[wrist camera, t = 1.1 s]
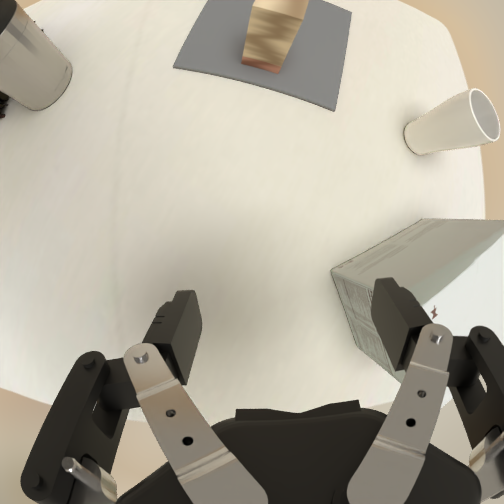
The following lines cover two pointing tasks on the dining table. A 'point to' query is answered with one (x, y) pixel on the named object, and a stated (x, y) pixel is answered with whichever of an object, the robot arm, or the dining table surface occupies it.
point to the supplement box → (430, 280)
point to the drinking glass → (455, 124)
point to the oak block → (272, 32)
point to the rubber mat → (296, 62)
